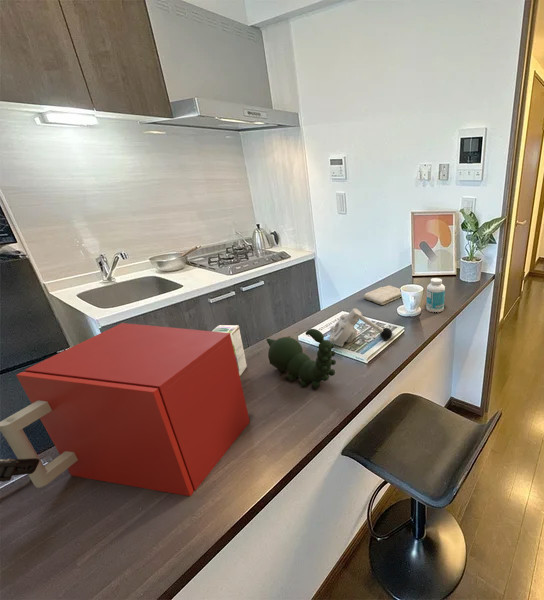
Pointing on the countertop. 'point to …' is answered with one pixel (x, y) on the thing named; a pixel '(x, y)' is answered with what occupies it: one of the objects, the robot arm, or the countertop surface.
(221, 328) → the syrup box
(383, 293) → the washcloth
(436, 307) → the pill bottle
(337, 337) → the mechanical valve
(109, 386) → the door
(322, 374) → the toy figurine
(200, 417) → the red cupboard
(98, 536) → the countertop surface
